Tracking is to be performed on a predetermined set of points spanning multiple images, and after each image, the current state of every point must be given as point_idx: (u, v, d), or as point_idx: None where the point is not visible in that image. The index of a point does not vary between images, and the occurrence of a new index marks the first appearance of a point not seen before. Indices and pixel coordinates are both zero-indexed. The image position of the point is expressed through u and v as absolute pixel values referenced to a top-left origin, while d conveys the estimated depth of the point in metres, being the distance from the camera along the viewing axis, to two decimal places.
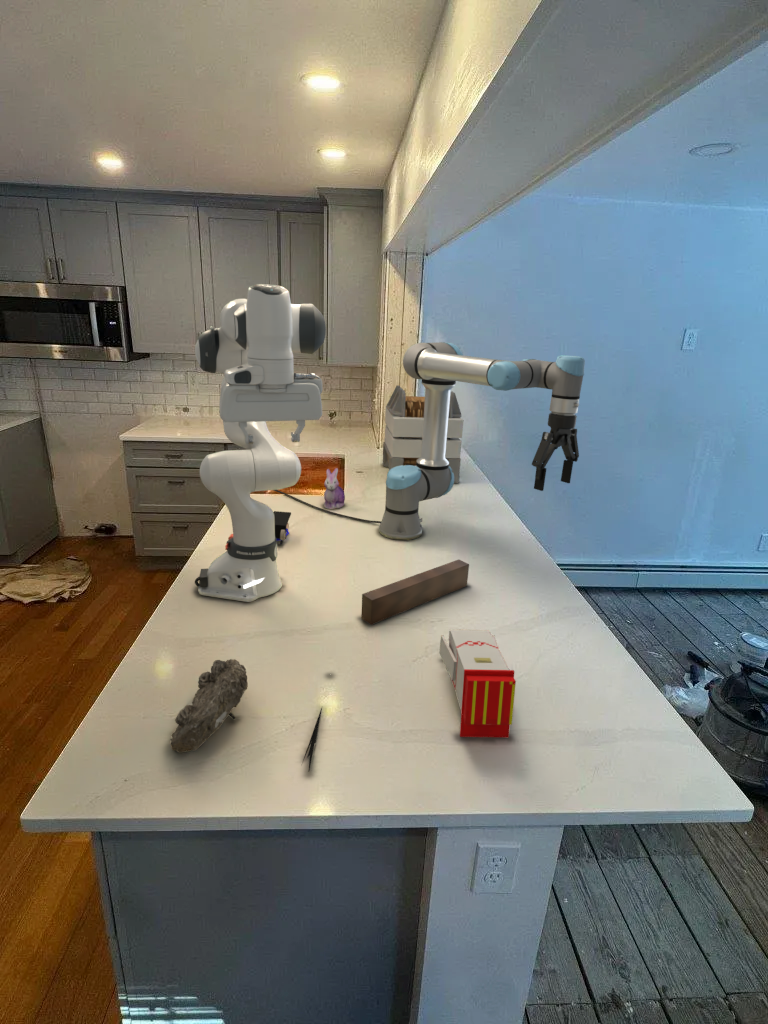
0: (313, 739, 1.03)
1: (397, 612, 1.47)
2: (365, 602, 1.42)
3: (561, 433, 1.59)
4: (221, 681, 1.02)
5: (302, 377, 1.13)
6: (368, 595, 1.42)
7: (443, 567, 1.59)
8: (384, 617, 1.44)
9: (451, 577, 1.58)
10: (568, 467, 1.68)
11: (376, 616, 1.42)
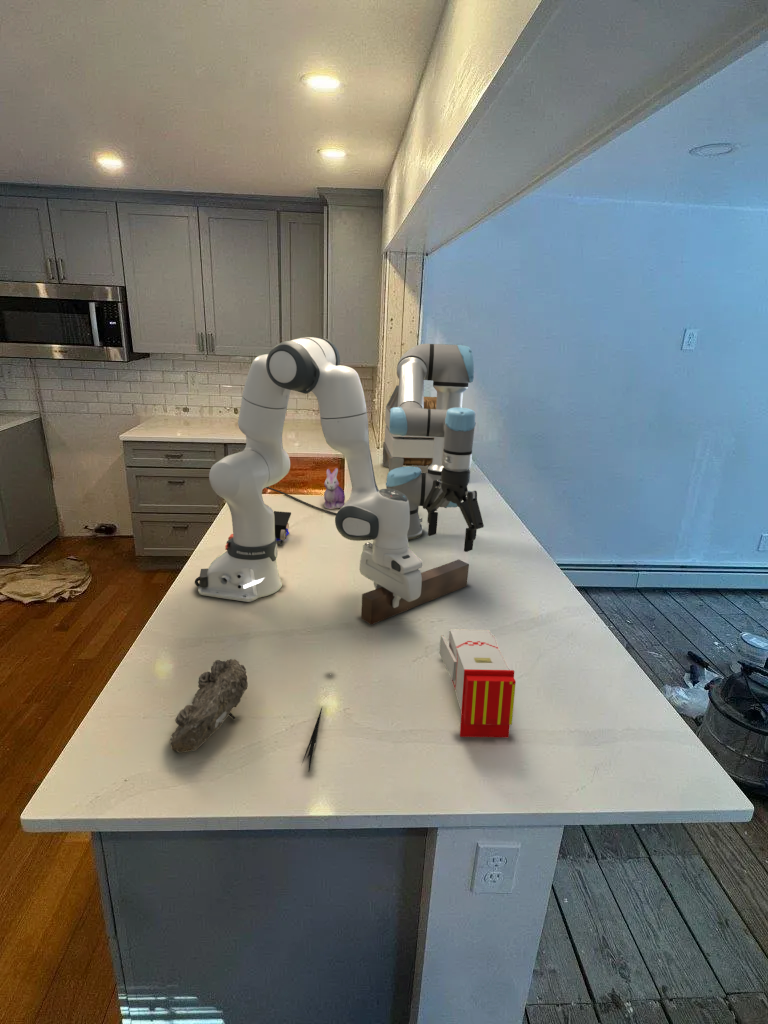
0: (313, 739, 1.03)
1: (397, 612, 1.47)
2: (365, 602, 1.42)
3: (448, 487, 1.51)
4: (221, 681, 1.02)
5: None
6: (368, 595, 1.42)
7: (443, 567, 1.59)
8: (384, 617, 1.44)
9: (451, 576, 1.58)
10: None
11: (376, 616, 1.42)
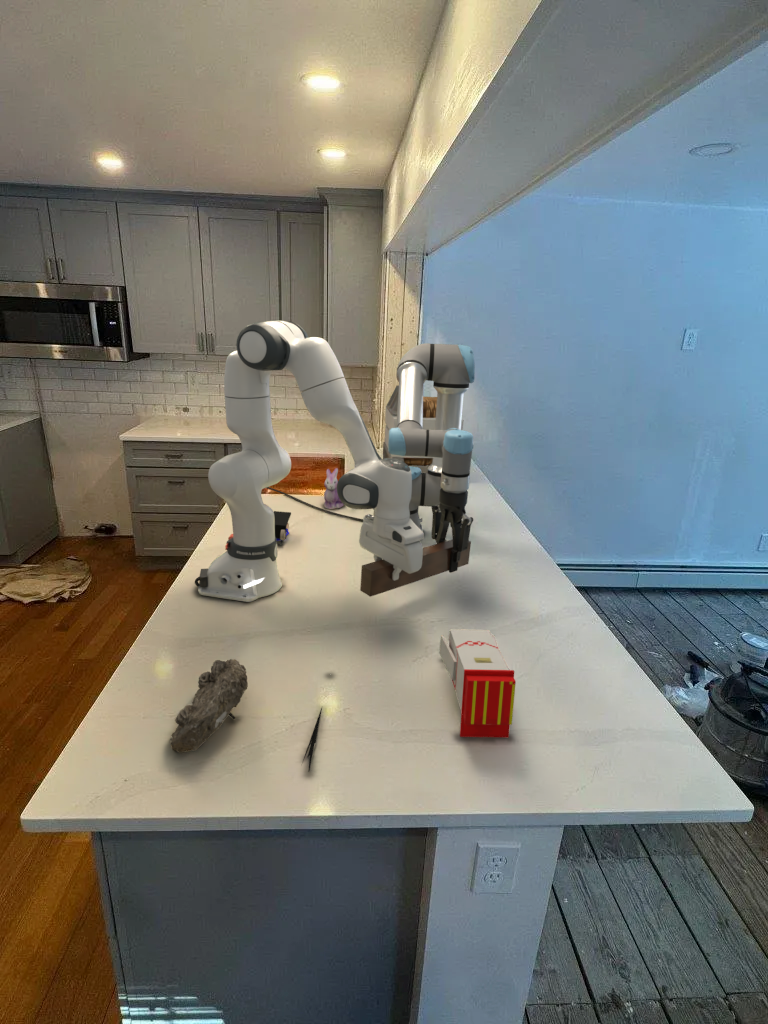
0: (313, 739, 1.03)
1: (397, 586, 1.45)
2: (364, 573, 1.40)
3: (446, 508, 1.53)
4: (221, 681, 1.02)
5: None
6: (367, 567, 1.39)
7: (445, 543, 1.57)
8: (383, 590, 1.42)
9: None
10: None
11: (375, 588, 1.40)
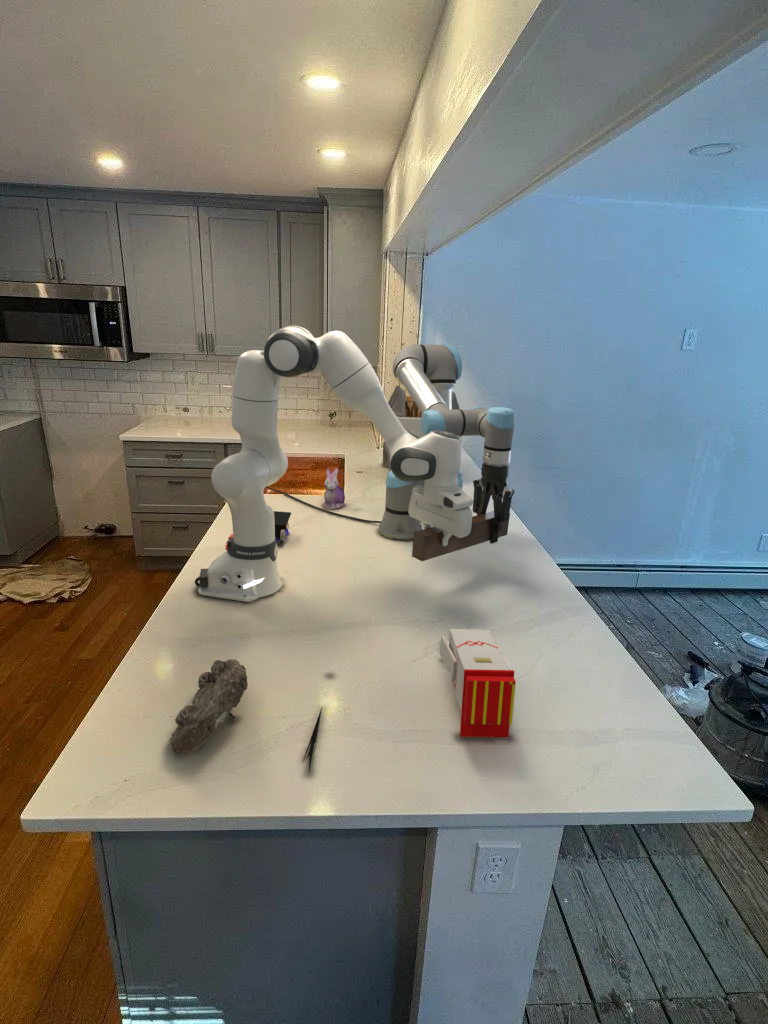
0: (313, 739, 1.03)
1: (445, 552, 1.53)
2: (417, 539, 1.48)
3: (487, 481, 1.62)
4: (221, 681, 1.02)
5: None
6: (419, 533, 1.47)
7: (486, 514, 1.65)
8: (433, 555, 1.50)
9: None
10: None
11: (427, 553, 1.48)
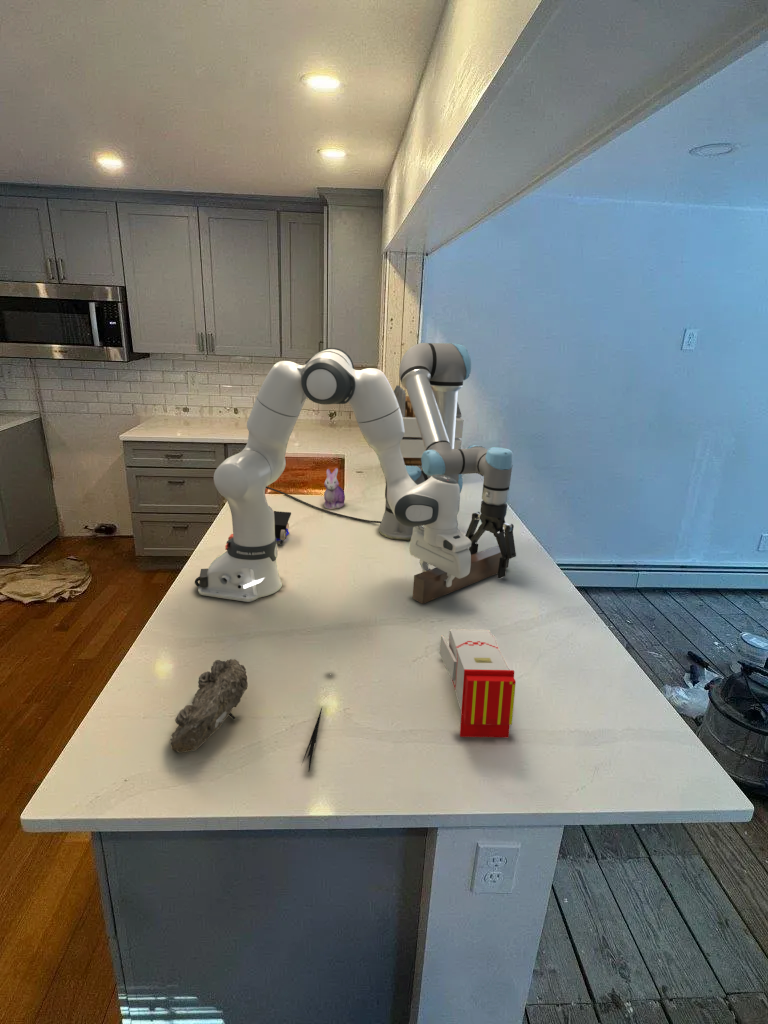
0: (313, 739, 1.03)
1: (445, 593, 1.58)
2: (417, 583, 1.53)
3: (486, 518, 1.67)
4: (221, 681, 1.02)
5: None
6: (419, 576, 1.53)
7: (484, 552, 1.70)
8: (433, 597, 1.55)
9: (492, 561, 1.69)
10: None
11: (427, 596, 1.53)
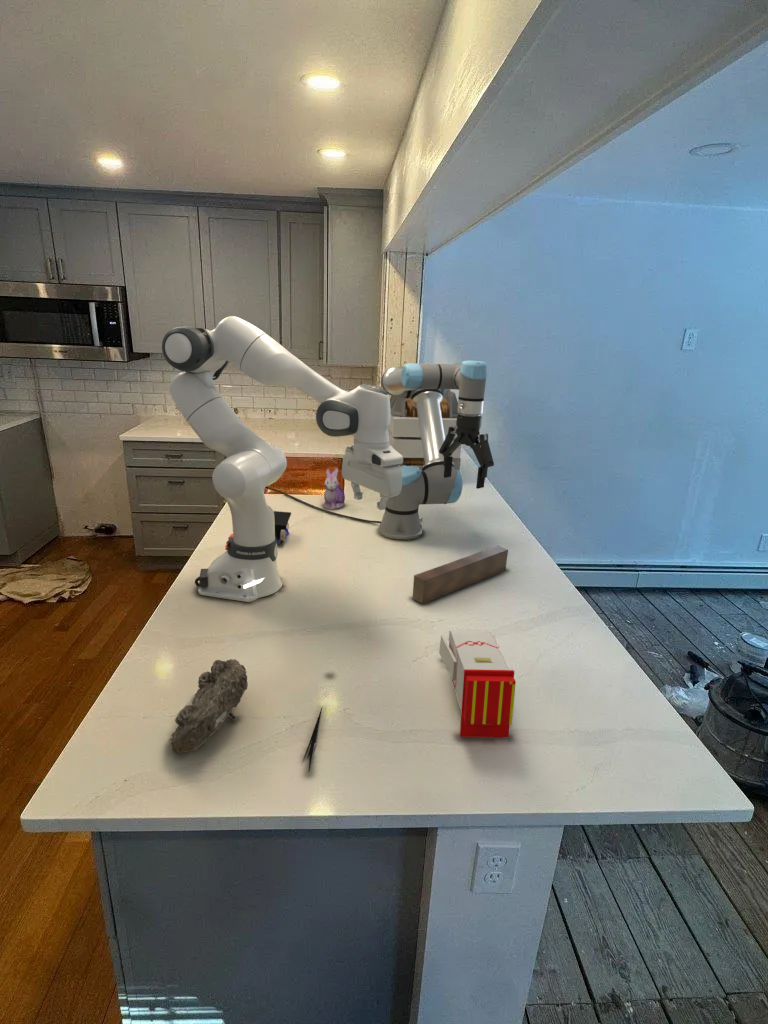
0: (313, 739, 1.03)
1: (445, 593, 1.58)
2: (417, 583, 1.53)
3: (462, 432, 1.71)
4: (221, 681, 1.02)
5: None
6: (419, 576, 1.53)
7: (484, 552, 1.70)
8: (433, 597, 1.55)
9: (492, 561, 1.69)
10: None
11: (427, 596, 1.53)
